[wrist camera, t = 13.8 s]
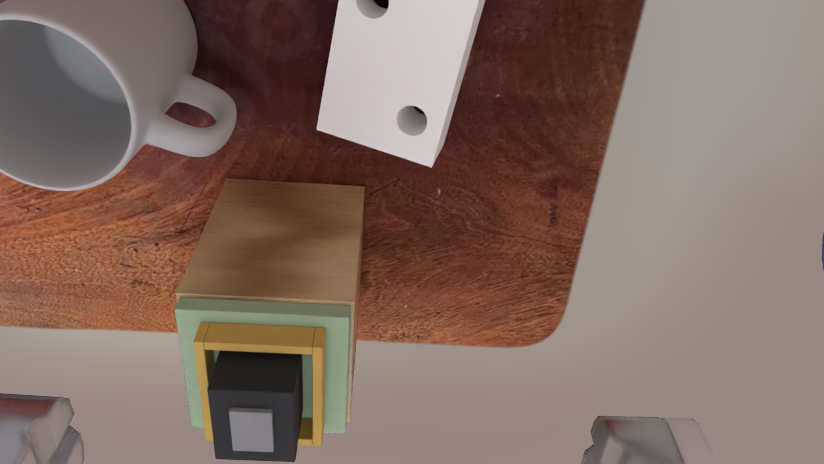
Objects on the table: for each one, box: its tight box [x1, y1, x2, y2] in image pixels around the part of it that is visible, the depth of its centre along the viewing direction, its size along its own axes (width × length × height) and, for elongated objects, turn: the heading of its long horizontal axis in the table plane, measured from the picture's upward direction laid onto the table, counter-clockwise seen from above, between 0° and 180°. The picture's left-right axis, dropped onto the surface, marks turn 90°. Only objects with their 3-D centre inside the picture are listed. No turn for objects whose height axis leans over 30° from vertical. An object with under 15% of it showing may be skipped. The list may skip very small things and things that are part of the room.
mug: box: [0, 0, 237, 191], centre depth 35 cm, size 12×8×11 cm
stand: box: [176, 178, 365, 422], centre depth 42 cm, size 9×9×12 cm
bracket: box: [316, 0, 485, 168], centre depth 36 cm, size 13×7×8 cm, turn 167°
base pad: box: [175, 297, 351, 446], centre depth 36 cm, size 9×9×2 cm
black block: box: [207, 350, 303, 462], centre depth 34 cm, size 4×5×4 cm
